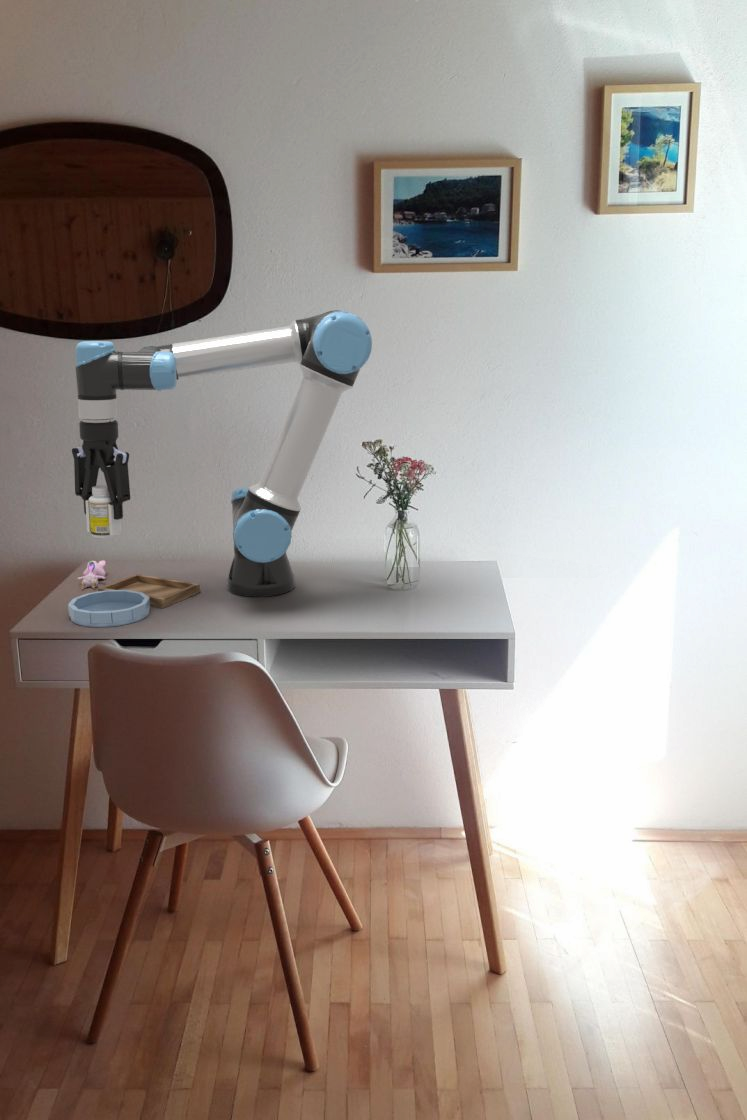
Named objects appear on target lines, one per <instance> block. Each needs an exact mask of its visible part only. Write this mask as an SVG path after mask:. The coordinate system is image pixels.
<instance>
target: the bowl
mask: <svg viewBox="0 0 747 1120" xmlns="http://www.w3.org/2000/svg"><path fill="white" fill-rule="evenodd" d="M67 607H68V608H67V609H68V615H69V617H70V621H71V622H72V623H74V624H76V625H79V626H83V627H90V628H91V627H92V628H109V627H118V626H125V625H129V624H134V623H136V622H140V621H142V620H144V619H145V618H146V617H148V616H149V615H150V608H151V606H150V598H149V597H148V596H147V595H145V594H144V593H142V592H137V591H131V590H105V591H99V592H98V591H94V592H88V593H84V594H82V595H79V596H76V597H74V598H72V599H71V601H70V602H69V603H68V604H67Z"/></svg>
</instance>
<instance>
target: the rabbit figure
mask: <svg viewBox="0 0 747 1120" xmlns="http://www.w3.org/2000/svg"><path fill="white" fill-rule="evenodd" d="M106 564H107V562H106V561H105V559H104V560H99V562H97V561H96V560H89V562H88V563H87V565H86V569H85V570H84V571H83V573H82V575H83V576H79V577H77V580H80V581H81V580H82V581H81V588H80V589H81V590H85V589H88V588H91V589H94V590H96V588H97V587H98V585H99V580H100V579H103V580H105V579H106V571H105V567H106ZM87 587H88V588H87ZM95 587H96V588H95Z"/></svg>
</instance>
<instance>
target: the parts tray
mask: <svg viewBox="0 0 747 1120" xmlns="http://www.w3.org/2000/svg"><path fill="white" fill-rule="evenodd" d="M105 590H131V591H137V592H142V593H144V594H145V595H147V596H148V597H149V598H150V607H153V608H158V607H159V609H165V608H167V607H171V605H173V604H176V602H177V603H178V602H182V601H184V600H186V599H189V598H191V597H193V596H195V595H194V594H196V593H198V594H200V593H201V584H200V583H197V582H190V581H183V580H177V579H169V578H165V577H164V578H163V577H157V576H152V575H144V574H140V573H138V574H137V573H135V574H133V575H131V576H128V577H125V578H122V579H119V580H116V581H113V582H111V583H109V584H106V585H104V586H100V587H98V588H97V592H99V591H105ZM199 592H200V593H199ZM192 595H193V596H192ZM196 595H197V594H196ZM190 596H191V597H190ZM188 597H189V598H188ZM181 600H182V601H181Z"/></svg>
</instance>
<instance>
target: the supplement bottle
mask: <svg viewBox="0 0 747 1120" xmlns="http://www.w3.org/2000/svg"><path fill="white" fill-rule="evenodd" d="M92 495H93V496H91V497H90V498H89V511H90V526H91V532H90V535H91V536H92V537H93V538H96V539H110V538H115V537H117V536H118V535H114V536H110V530H109V511H108V504H109V502H111V499H110V495H109V492H108V488H107V485H96V486H94V487H92Z"/></svg>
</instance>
